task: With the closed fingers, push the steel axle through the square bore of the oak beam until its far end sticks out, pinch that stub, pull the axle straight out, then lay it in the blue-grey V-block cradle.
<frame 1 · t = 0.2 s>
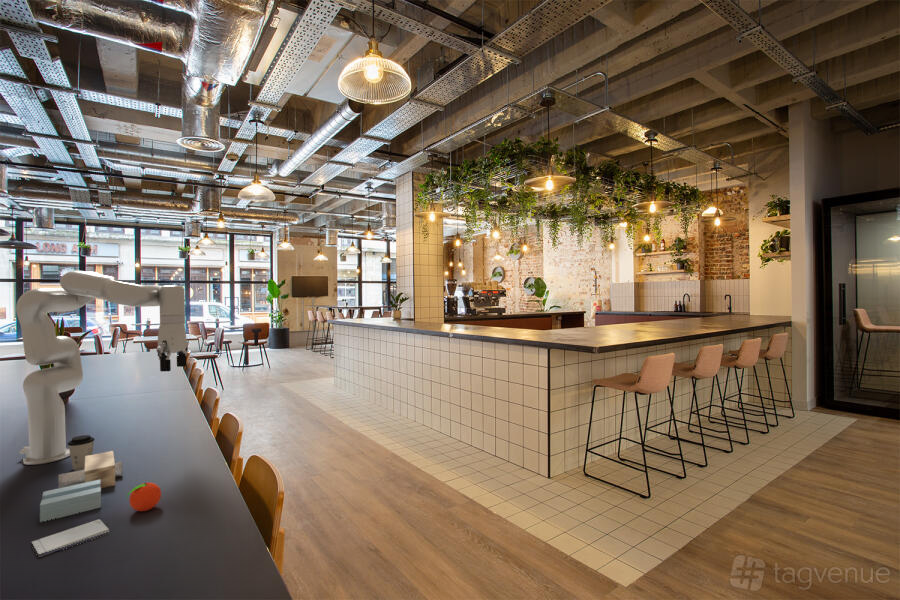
hand: (173, 368, 154), 31 cm above the table, tool pointing down, fingers open, 9 cm apart
hard drive: (71, 542, 102), on the table
coffee cup: (82, 467, 145), on the table
clementine: (143, 511, 115), on the table
axle: (91, 482, 134), on the table
beam: (100, 479, 135), on the table
v block: (72, 506, 118), on the table
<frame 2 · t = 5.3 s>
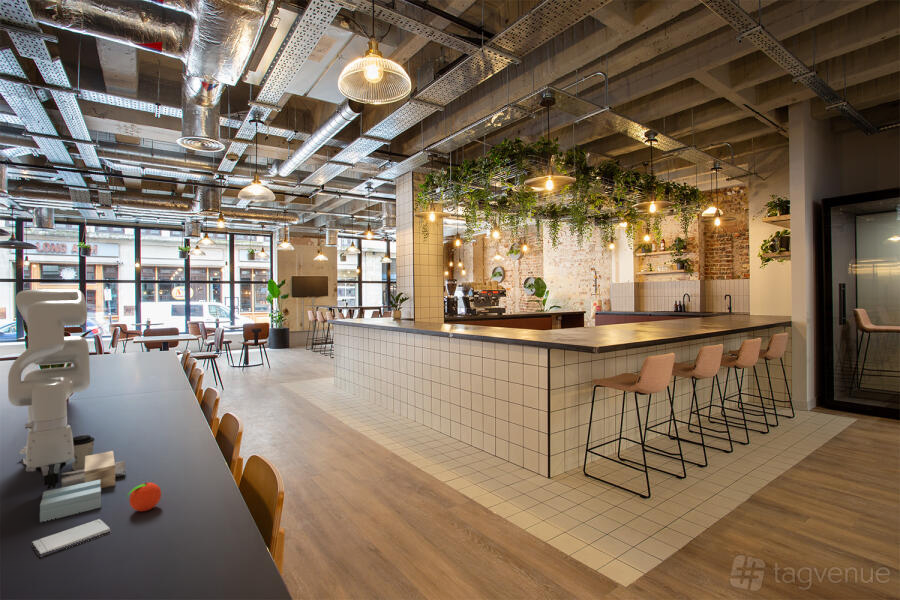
hand: (51, 486, 128), 1 cm above the table, tool pointing down, fingers closed
axle: (94, 481, 134), on the table, tilted 7°, touching gripper
everything else where it was.
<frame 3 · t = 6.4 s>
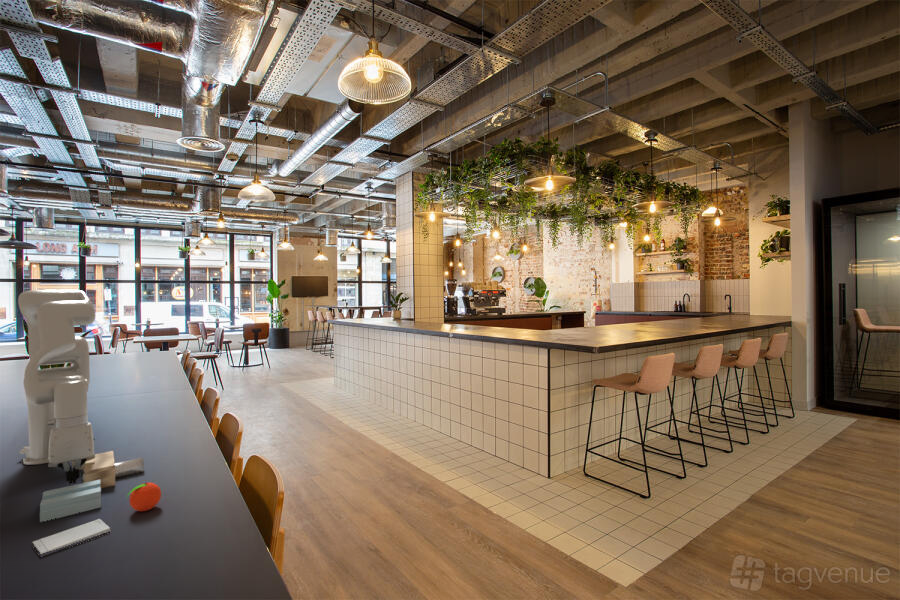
hand: (72, 481, 131), 1 cm above the table, tool pointing down, fingers closed
axle: (114, 477, 137), on the table, tilted 7°
everything else where it was.
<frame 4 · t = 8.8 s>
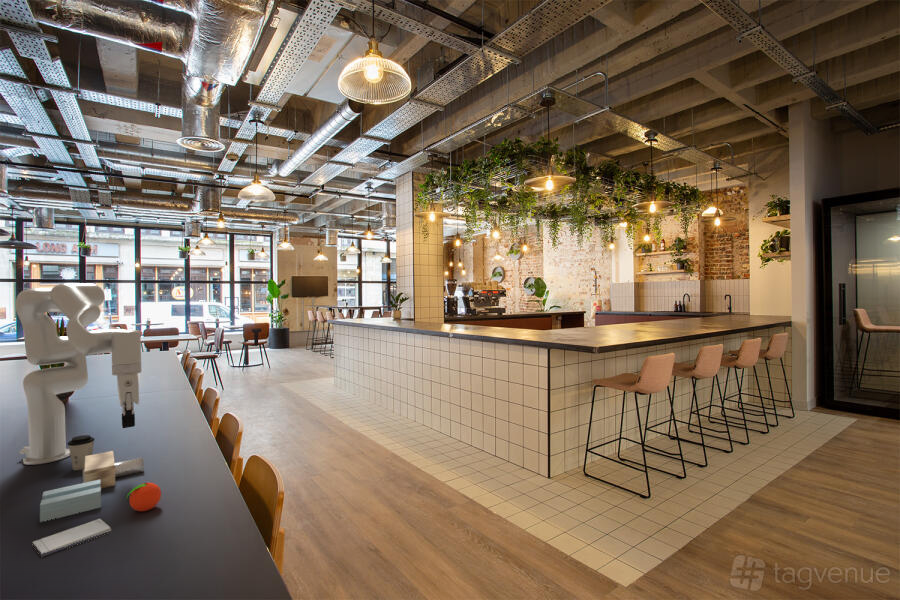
hand: (128, 425, 139), 15 cm above the table, tool pointing down, fingers closed
nothing on the table moved.
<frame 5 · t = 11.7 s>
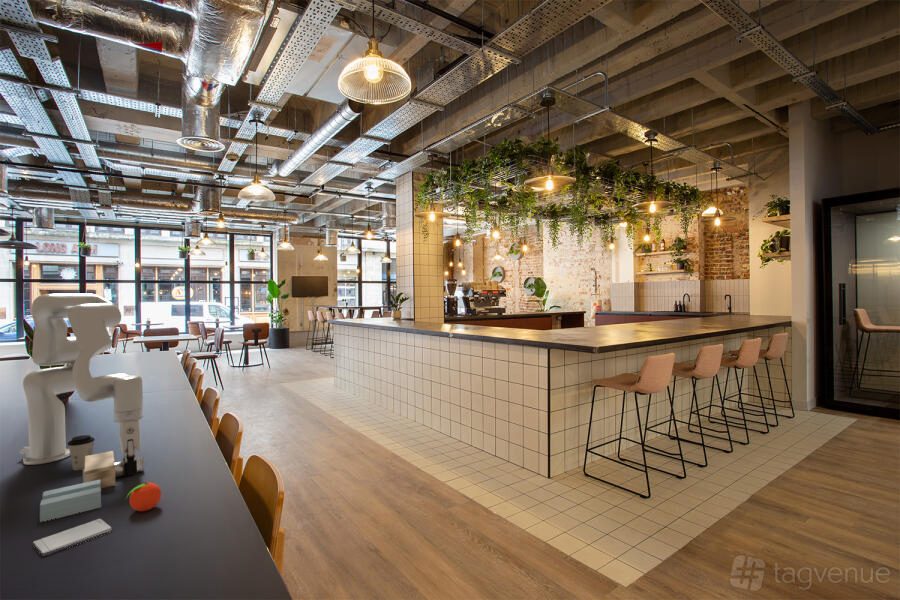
hand: (130, 471, 140), 1 cm above the table, tool pointing down, fingers closed on axle, 4 cm apart
axle: (114, 477, 137), on the table, touching gripper
everything else where it was.
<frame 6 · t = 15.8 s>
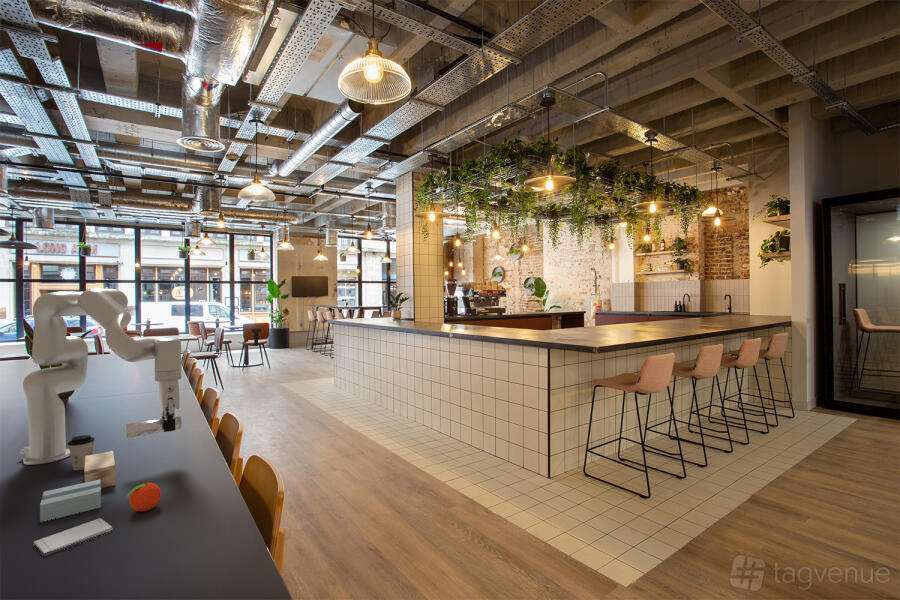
hand: (168, 428, 147), 12 cm above the table, tool pointing down, fingers closed on axle, 4 cm apart
axle: (154, 433, 144), point 11 cm above the table, touching gripper
everything else where it was.
when the fingers open (5 cm above the table, at t = 20.2 s): axle drops 1 cm, resting on v block.
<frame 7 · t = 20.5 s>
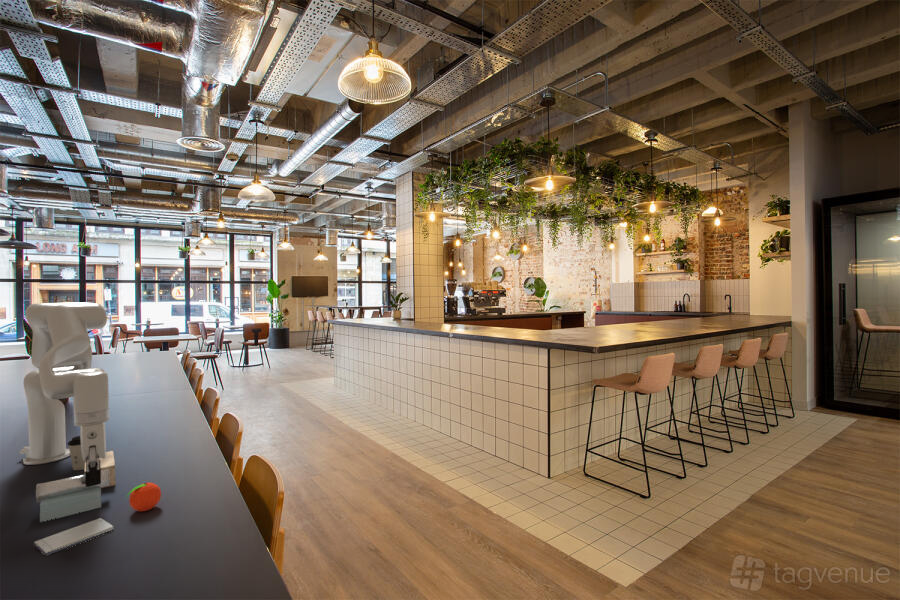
hand: (93, 479, 121), 6 cm above the table, tool pointing down, fingers open, 7 cm apart
axle: (74, 492, 118), point 3 cm above the table, tilted 7°, touching v block
everything else where it was.
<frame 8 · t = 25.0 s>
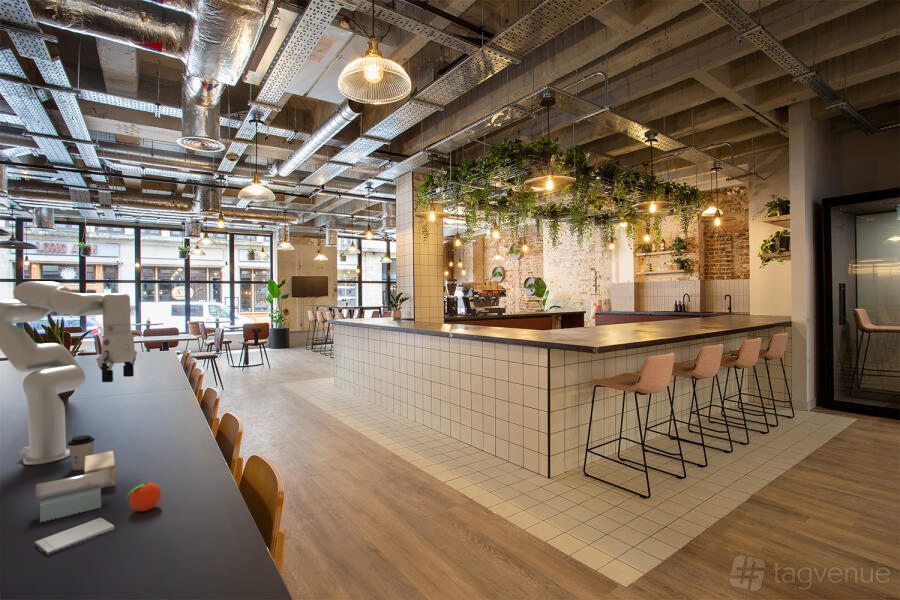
hand: (118, 379, 150), 28 cm above the table, tool pointing down, fingers open, 9 cm apart
nothing on the table moved.
at the end: axle inside the target area on the v block (0.6 cm from its centre), point 3.4 cm above the v block's base; axle touching v block; the gripper is holding nothing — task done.
